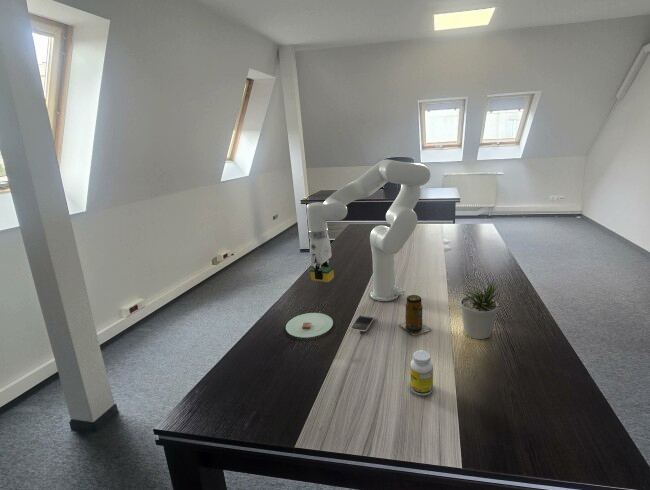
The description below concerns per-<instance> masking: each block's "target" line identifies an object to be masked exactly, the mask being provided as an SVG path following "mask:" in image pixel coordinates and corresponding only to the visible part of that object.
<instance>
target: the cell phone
mask: <svg viewBox="0 0 650 490" xmlns="http://www.w3.org/2000/svg"><path fill="white" fill-rule="evenodd" d="M374 321H375V316H369V315H368V316H367V315H359V316H358V317H357V318H356V320H355V321H354V323H352V325H351V326H350V330H352V331H359V333H360V334H366V333H367V331H368V330H369V328H370V327H371V325H372V324H373V323H374Z"/></svg>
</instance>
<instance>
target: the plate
mask: <svg viewBox="0 0 650 490" xmlns="http://www.w3.org/2000/svg"><path fill="white" fill-rule="evenodd" d="M303 323H311V328H310V329H302V326H303ZM333 325H334V320H333V318H332V317H331V316H329V315H327V314H324V313H321V312H307V313H303V314H299V315H296V316H295V317H292V318H291V319H290V320H288V321H287V323H286V325H285V331H286V332H287V333H288V335H291V336H293V337H296V338H313V337H317V336H321V335H323V334H325V333H327V332H328V331H330V329H331V328H332V327H333Z"/></svg>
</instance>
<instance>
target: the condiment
mask: <svg viewBox="0 0 650 490" xmlns="http://www.w3.org/2000/svg"><path fill="white" fill-rule="evenodd" d="M423 317H424V316H423V304H422V297H421V296H420V295H418V294H410V295H407V297H406V303H405V323H402V324H400V327H402V328H403V329H404V330H405V331H407V332H408V333H409V334H411V336H414V337H415V336H418V335H422V334H424V333H427V332H429V331H431V330H430V329H429V328H428V327H426V326H425V325H424V324H423Z"/></svg>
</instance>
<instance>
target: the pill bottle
mask: <svg viewBox="0 0 650 490" xmlns="http://www.w3.org/2000/svg"><path fill="white" fill-rule="evenodd" d="M409 368H410V372H409V373H410V390H411V391H412V393H414V394H415V395H417V396H428V395H430V394H431V393H432V392H433V389H434V364H433V361H432V360H431V353H429V352H428V351H427V350H421V349H420V350H415V351H414V352H413V355H412V359H411V361H410V367H409Z"/></svg>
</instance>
